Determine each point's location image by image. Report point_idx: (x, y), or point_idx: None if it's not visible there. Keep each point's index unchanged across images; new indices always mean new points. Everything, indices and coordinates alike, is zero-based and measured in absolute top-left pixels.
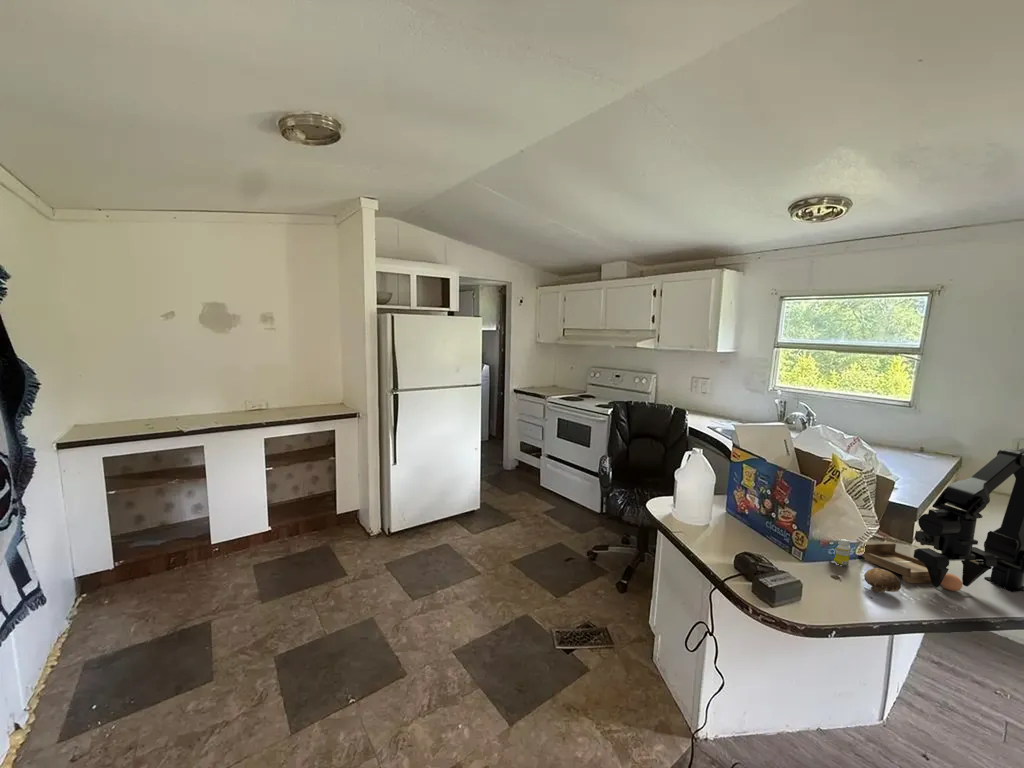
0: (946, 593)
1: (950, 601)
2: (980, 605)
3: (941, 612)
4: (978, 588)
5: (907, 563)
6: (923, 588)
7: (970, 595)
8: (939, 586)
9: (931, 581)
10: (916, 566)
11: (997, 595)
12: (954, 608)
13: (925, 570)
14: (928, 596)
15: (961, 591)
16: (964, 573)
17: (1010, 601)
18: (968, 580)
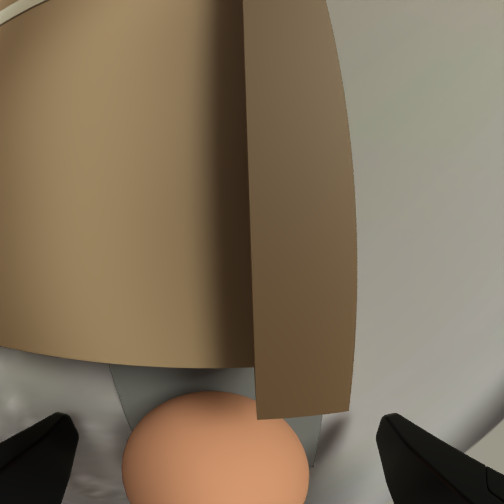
0: None
1: (114, 468)
2: None
3: None
4: (490, 348)
5: (95, 3)
6: None
7: (309, 464)
8: (166, 377)
9: (33, 426)
10: (80, 103)
11: (487, 403)
12: (93, 489)
13: (47, 299)
14: (26, 414)
15: (302, 433)
16: (441, 492)
17: (472, 439)
18: (395, 488)
